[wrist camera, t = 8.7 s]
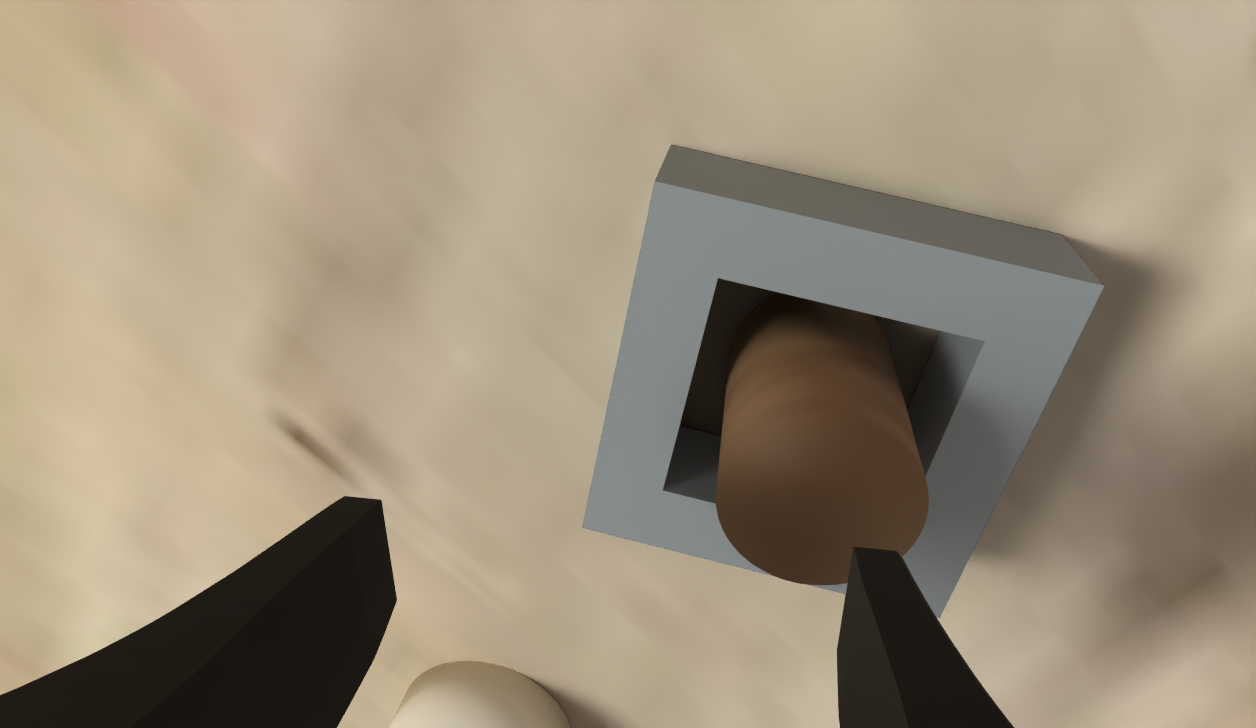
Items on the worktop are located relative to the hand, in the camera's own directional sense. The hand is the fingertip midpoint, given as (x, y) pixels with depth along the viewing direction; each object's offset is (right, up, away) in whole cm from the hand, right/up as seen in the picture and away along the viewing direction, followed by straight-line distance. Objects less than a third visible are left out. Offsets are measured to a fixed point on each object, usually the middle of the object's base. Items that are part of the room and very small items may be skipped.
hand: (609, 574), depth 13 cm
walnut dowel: (+5, +3, +9) cm, 11 cm away
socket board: (+5, +3, +9) cm, 10 cm away
